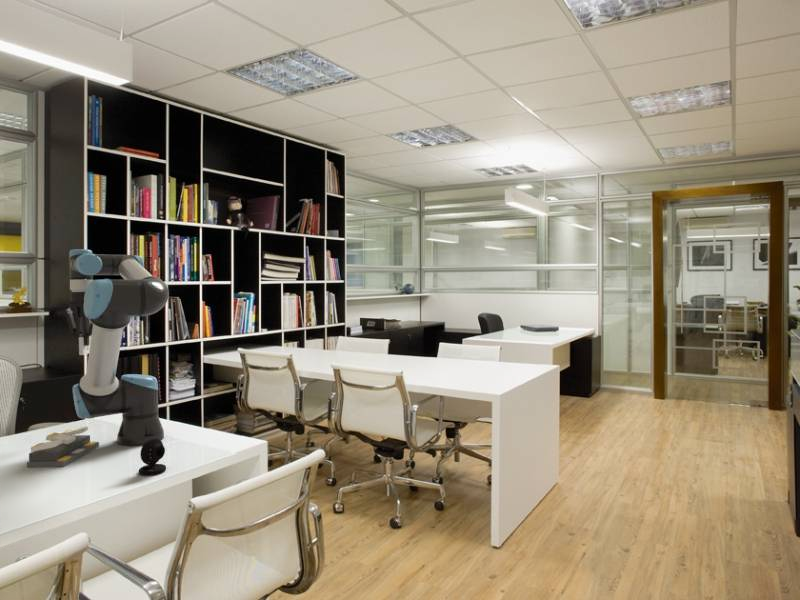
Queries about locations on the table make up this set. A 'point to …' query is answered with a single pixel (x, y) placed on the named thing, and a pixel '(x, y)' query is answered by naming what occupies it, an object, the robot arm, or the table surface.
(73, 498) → the table surface
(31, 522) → the table surface
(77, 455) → the switch panel
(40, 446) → the rocker
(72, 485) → the table surface
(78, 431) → the rocker
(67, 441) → the rocker
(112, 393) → the robot arm
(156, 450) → the webcam
